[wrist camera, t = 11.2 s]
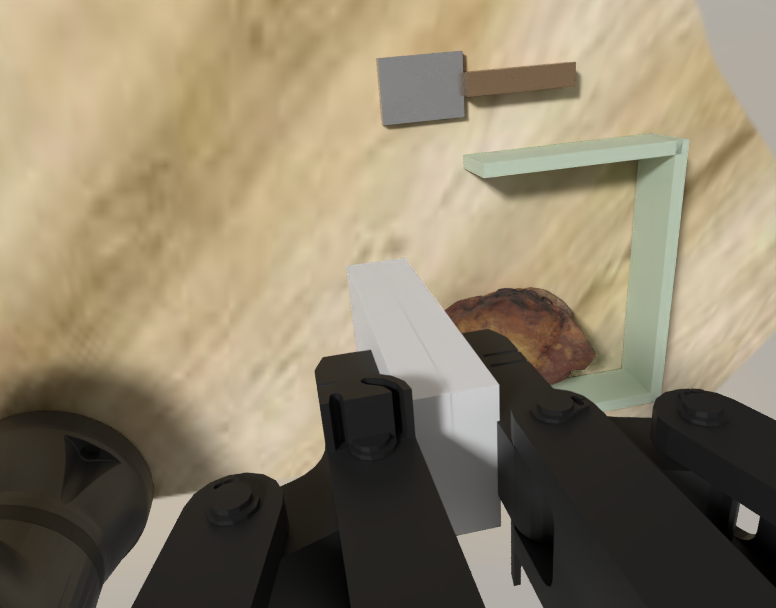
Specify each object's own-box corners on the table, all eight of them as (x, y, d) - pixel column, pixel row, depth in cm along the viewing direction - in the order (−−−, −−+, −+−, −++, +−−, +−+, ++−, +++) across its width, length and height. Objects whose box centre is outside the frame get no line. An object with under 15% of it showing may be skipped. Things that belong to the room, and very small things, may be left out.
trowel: (382, 124, 42) (385, 126, 40) (376, 58, 40) (380, 57, 39) (564, 105, 44) (574, 106, 42) (566, 41, 42) (576, 40, 41)
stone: (422, 415, 52) (438, 449, 47) (381, 332, 48) (394, 359, 43) (573, 342, 52) (603, 368, 47) (543, 253, 49) (573, 271, 44)
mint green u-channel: (471, 404, 52) (489, 433, 48) (463, 154, 44) (483, 163, 40) (630, 376, 54) (660, 401, 50) (651, 133, 46) (689, 139, 42)
